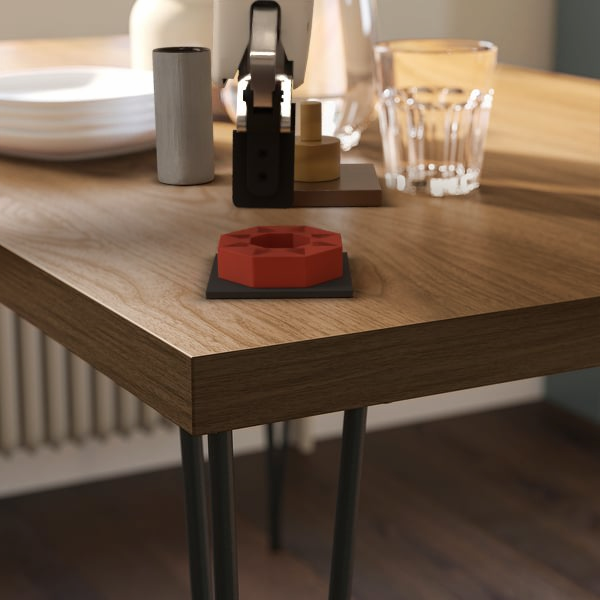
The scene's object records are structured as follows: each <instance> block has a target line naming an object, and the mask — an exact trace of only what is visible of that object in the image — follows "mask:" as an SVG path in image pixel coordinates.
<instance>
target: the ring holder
mask: <svg viewBox="0 0 600 600" xmlns="http://www.w3.org/2000/svg"><path fill="white" fill-rule="evenodd" d="M299 108H300V110H299V113H300V115H299V121H300V122H299V123H300V124H299V127H300V128H299V129H300V131H299V133H300V135H295V164H294V202H293V205H292V206H291V207H290V208H293V207H295V208H296V207H297V208H299V207H303V208H304V207H305V208H306V207H381V206H382V199H383V198H382V197H383V196H382V193H383V191H382V187H381V184H380V181H379V177H378V174H377V171H376V168H375V164H374V163H371V162H369V163H368V162H367V163H365V162H364V163H341V138H339V137H337V136H332V135H324V134H323V104H322V102H321V101H319V100H318V101H317V100H306V101H305V100H304V101H301V102H300V103H299Z"/></svg>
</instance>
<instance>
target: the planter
mask: <svg viewBox="0 0 600 600" xmlns="http://www.w3.org/2000/svg"><path fill="white" fill-rule="evenodd" d="M151 55H152V59H151V60H152V78H153V79H152V80H153V82H152V83H153V100H154V121H155V122H154V125H155V126H154V127H155V143H156V145H155V146H156V147H155V148H156V167H157V168H156V170H157V179H158V182H161V183H163V184H167V185H174V186H189V185H190V186H192V185H200V184H207V183H209V182H212V181H214V179H215V148H214V145H215V142H214V141H215V140H214V115H213V113H214V111H213V110H214V109H213V81H212V51H211V49H210V48H209V47H207V46H206V47H205V46H164V47H156V48H154V49H153V50H152V51H151Z"/></svg>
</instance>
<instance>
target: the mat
mask: <svg viewBox="0 0 600 600" xmlns="http://www.w3.org/2000/svg"><path fill="white" fill-rule="evenodd" d="M207 281H208V282H207V286H206V290H205V299H289V298H291V299H293V298H294V299H295V298H302V299H303V298H309V299H310V298H353V297H354V289H353V282H352V275H351V268H350V259H349V254H348V251H343V275H342V277H340V278H337V279H333V280H330V281H327V282H323V283H320V284H317V285H313V286H310V287H307V288H252V287H248V286H245V285H241V284H238V283H235V282H231V281H228V280H224V279H221V278H219V277H218V252H216V253H215V255H214V258H213V263H212V267H211V271H210V274H209V278H208V280H207Z"/></svg>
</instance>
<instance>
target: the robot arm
mask: <svg viewBox="0 0 600 600" xmlns="http://www.w3.org/2000/svg"><path fill="white" fill-rule="evenodd" d="M212 1H213V2H212V3H213V5H212V7H213V8H212V53H211V75H212V84H214V85H215V86H216V87H217V88H219V89H225V87H226V86H227V83H228V81H229V79H230V80H234V79H235V77H236V75H237V74H238V75H237V97H236V98H237V99H236V100H237V101H236V129H232V155H231V156H232V161H231V162H232V163H231V165H232V168H231V170H232V172H231V177H232V179H231V180H232V183H231V185H232V186H231V201H232V205H233V206H234V207H236V208H239V209H273V210H274V209H276V210H277V209H278V210H280V209H281V210H283V209H284V210H287V209H290V208H292V207H291V206H292V205H293V202H294V164H295V136H296V117H297V115H296V114H297V102H292V101H293V90H296V89H298V88H299V87H300V86H302V85H303V84H304V83H305V77H306V71H307V65H308V61H309V52H310V45H311V39H312V28H313V17H314V7H315V6H314V5H315V0H212ZM237 72H238V73H237Z"/></svg>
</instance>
